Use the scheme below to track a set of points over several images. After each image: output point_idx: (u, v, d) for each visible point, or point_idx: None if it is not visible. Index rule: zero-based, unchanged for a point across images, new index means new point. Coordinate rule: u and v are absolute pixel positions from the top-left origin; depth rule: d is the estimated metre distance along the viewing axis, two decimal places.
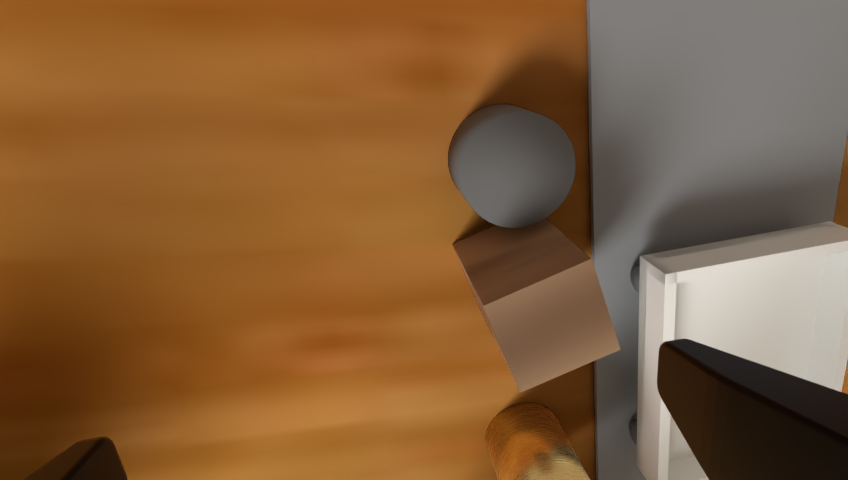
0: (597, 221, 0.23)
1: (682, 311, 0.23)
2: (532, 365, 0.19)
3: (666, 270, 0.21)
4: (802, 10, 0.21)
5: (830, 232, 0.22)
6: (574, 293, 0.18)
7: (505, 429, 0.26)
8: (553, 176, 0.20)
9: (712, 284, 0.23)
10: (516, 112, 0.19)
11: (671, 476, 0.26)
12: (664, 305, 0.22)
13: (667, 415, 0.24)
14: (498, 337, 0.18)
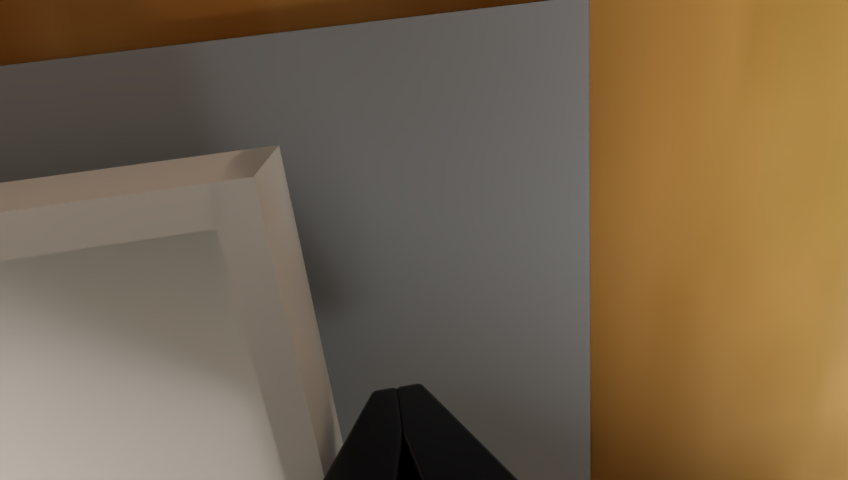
0: None
1: None
2: None
3: None
4: None
5: None
6: None
7: None
8: None
9: None
10: None
11: None
12: None
13: None
14: None
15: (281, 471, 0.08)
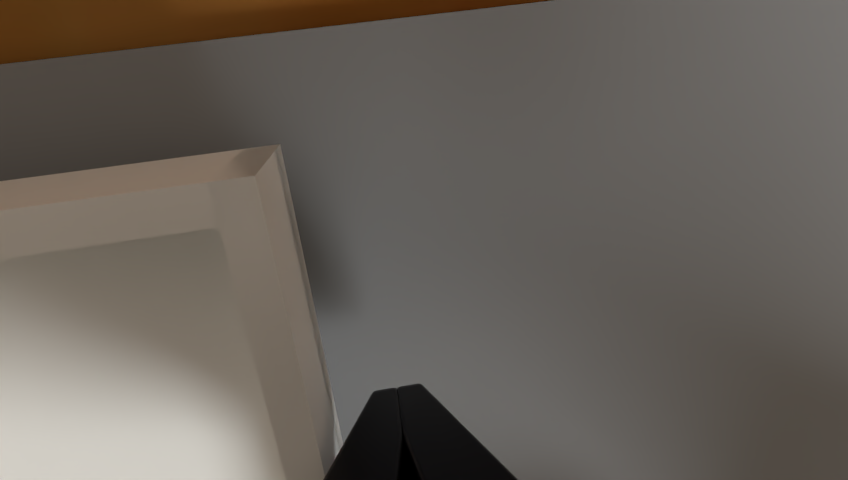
0: None
1: None
2: None
3: None
4: None
5: None
6: None
7: None
8: None
9: None
10: None
11: None
12: None
13: None
14: None
15: (281, 470, 0.08)
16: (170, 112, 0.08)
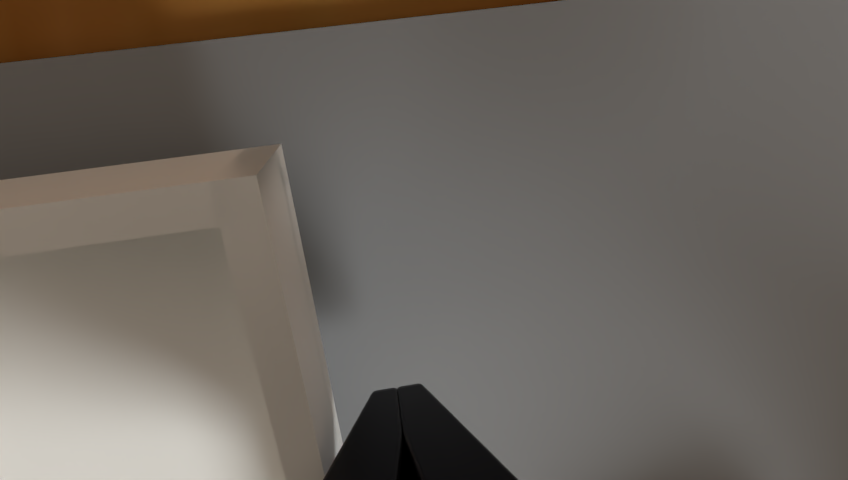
0: None
1: None
2: None
3: None
4: None
5: None
6: None
7: None
8: None
9: None
10: None
11: None
12: None
13: None
14: None
15: (281, 470, 0.08)
16: (411, 82, 0.09)
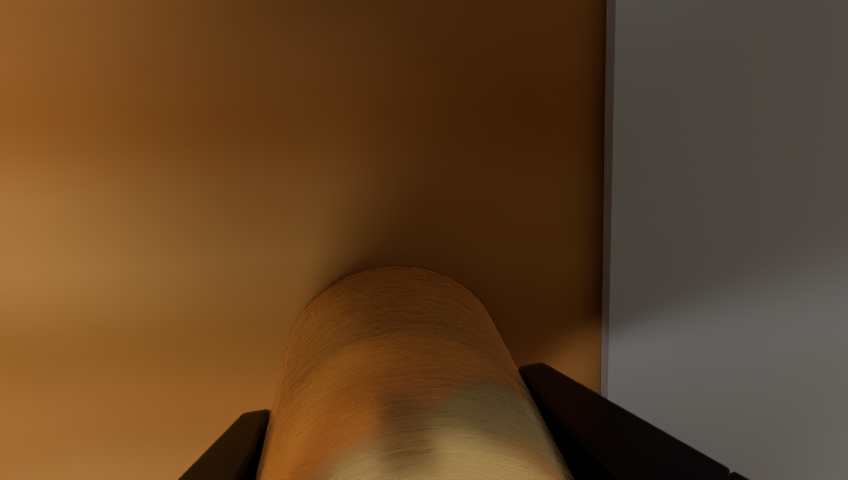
0: None
1: None
2: None
3: None
4: None
5: None
6: None
7: (313, 331, 0.08)
8: None
9: None
10: None
11: None
12: None
13: None
14: None
15: None
16: None
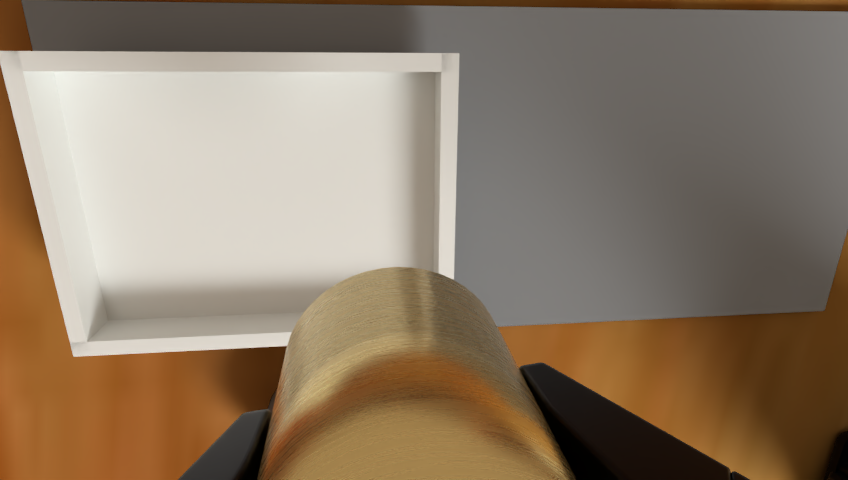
0: None
1: (174, 284, 0.17)
2: None
3: (75, 346, 0.16)
4: None
5: None
6: None
7: (314, 333, 0.08)
8: None
9: (132, 246, 0.17)
10: None
11: None
12: (122, 353, 0.16)
13: None
14: None
15: (419, 215, 0.17)
16: (504, 38, 0.18)
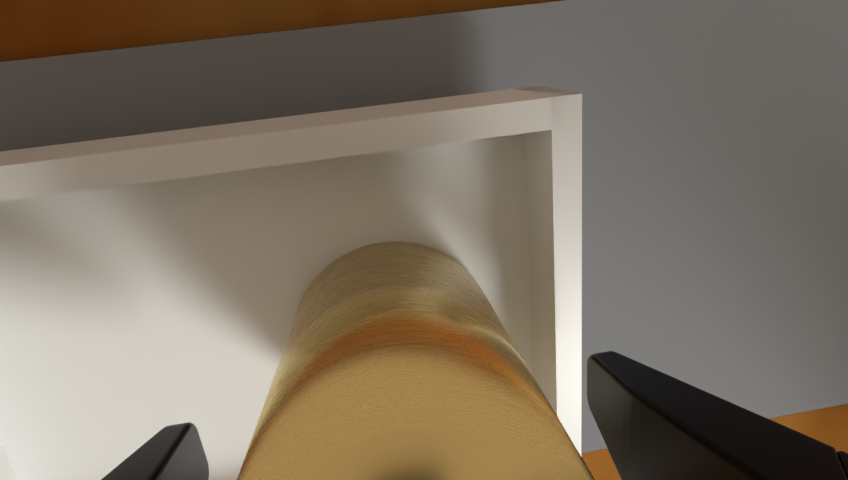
0: None
1: None
2: None
3: None
4: None
5: None
6: None
7: (320, 289, 0.09)
8: None
9: (71, 445, 0.11)
10: None
11: None
12: None
13: None
14: None
15: None
16: (610, 45, 0.11)
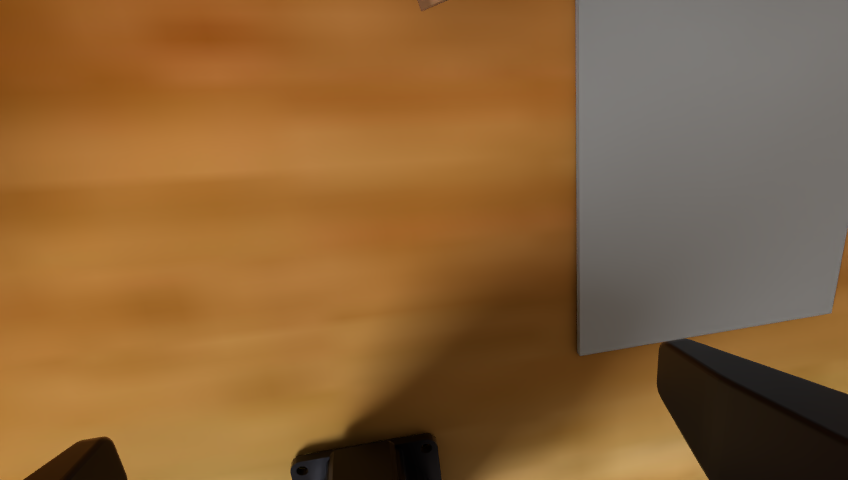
0: None
1: None
2: None
3: None
4: None
5: None
6: None
7: None
8: None
9: None
10: None
11: None
12: None
13: None
14: None
15: None
16: None
